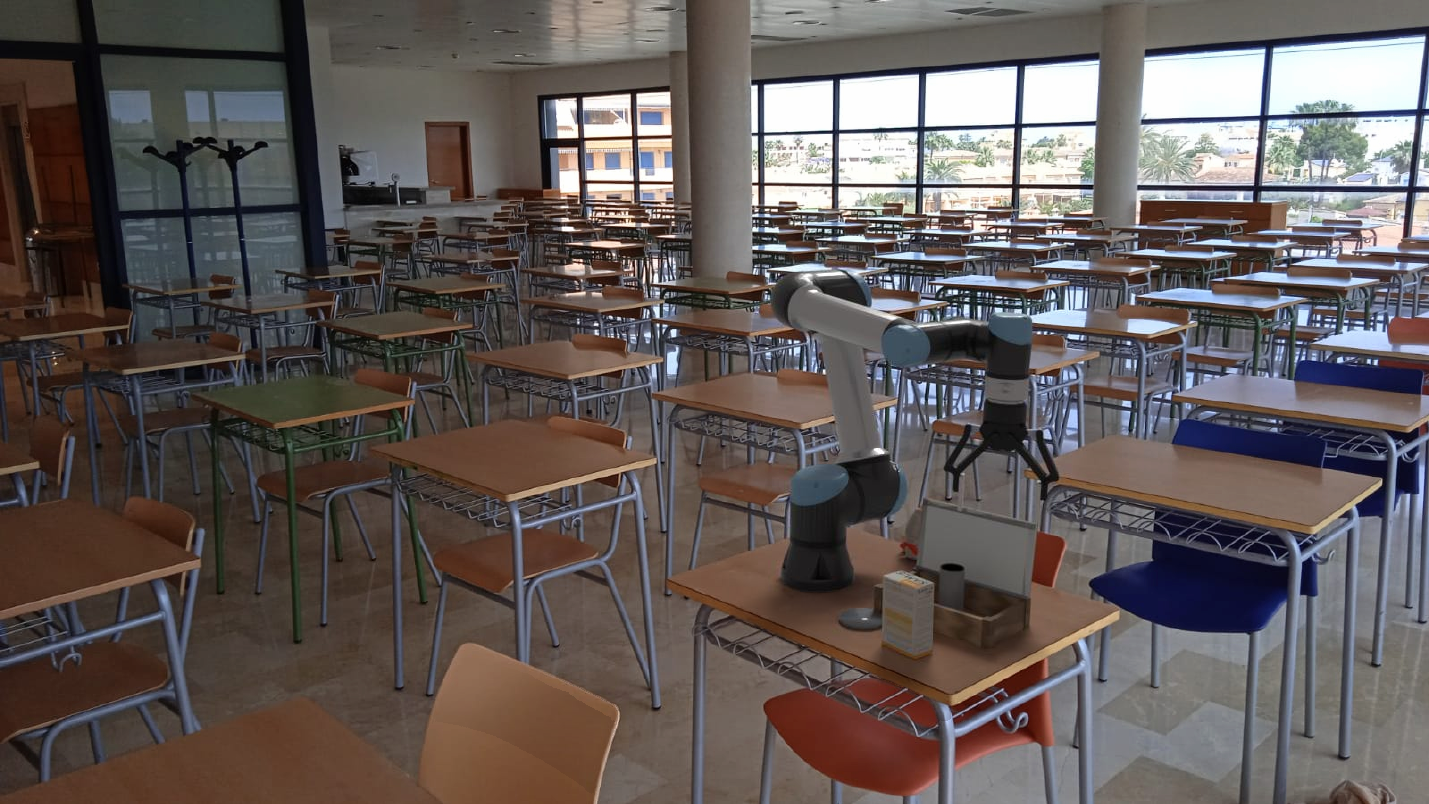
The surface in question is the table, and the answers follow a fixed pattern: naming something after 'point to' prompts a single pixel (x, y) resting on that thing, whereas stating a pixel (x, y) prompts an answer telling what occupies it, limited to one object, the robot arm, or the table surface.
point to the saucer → (861, 619)
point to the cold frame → (984, 632)
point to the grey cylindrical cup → (951, 586)
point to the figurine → (912, 535)
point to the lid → (978, 546)
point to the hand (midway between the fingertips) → (997, 513)
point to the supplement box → (908, 614)
